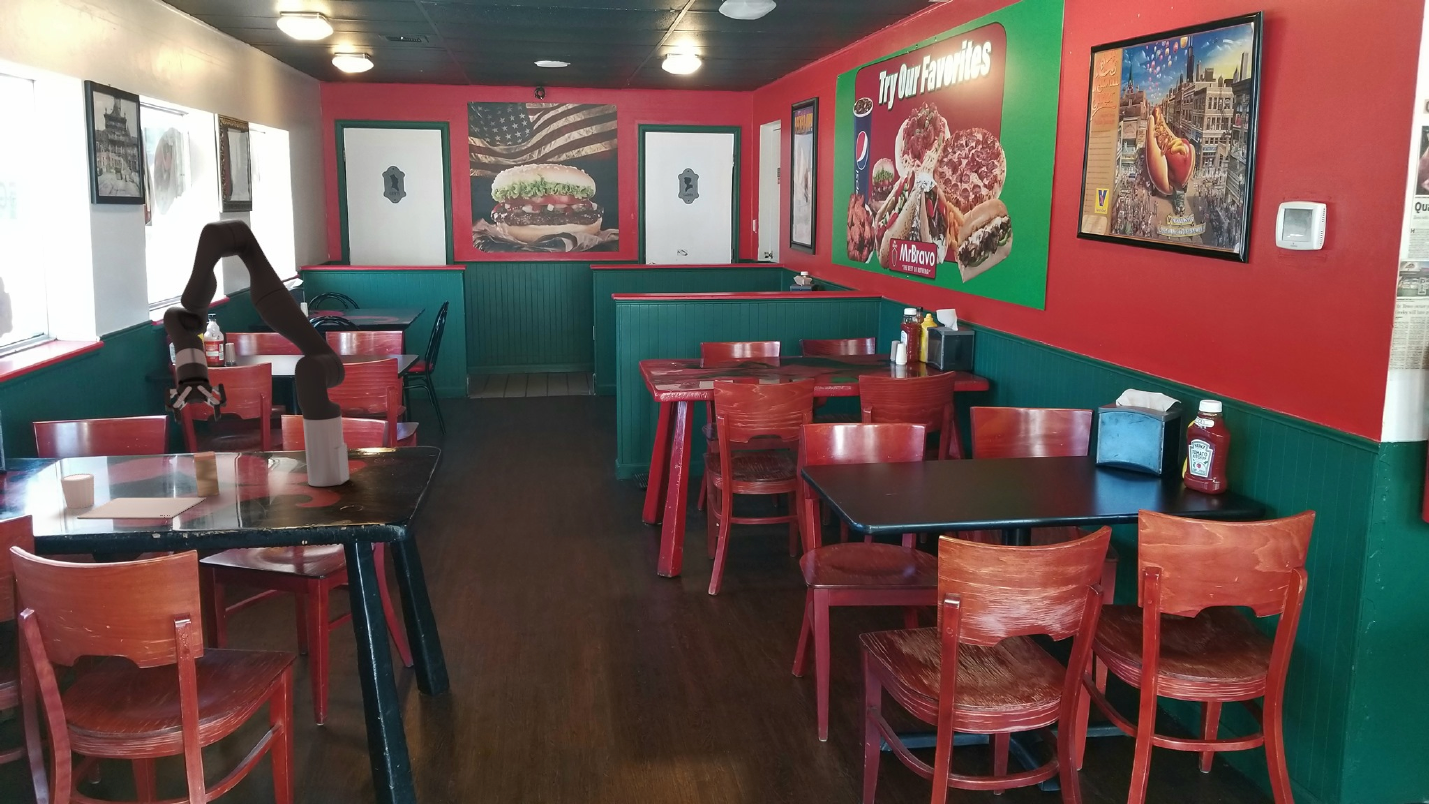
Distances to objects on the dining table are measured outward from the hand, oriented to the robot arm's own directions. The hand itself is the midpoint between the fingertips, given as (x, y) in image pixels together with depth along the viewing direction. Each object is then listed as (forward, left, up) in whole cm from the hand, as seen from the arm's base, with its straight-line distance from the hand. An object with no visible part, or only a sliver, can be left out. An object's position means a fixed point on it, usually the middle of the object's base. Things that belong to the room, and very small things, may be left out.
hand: (198, 420), depth 270 cm
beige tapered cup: (+20, +20, -16) cm, 33 cm away
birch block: (-6, +10, -16) cm, 20 cm away
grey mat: (+3, +23, -16) cm, 28 cm away
